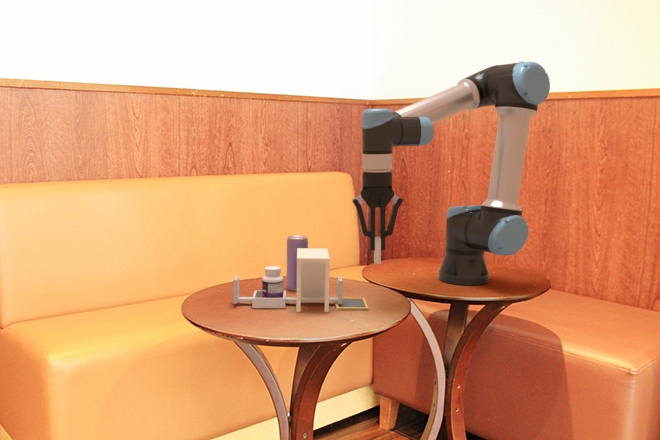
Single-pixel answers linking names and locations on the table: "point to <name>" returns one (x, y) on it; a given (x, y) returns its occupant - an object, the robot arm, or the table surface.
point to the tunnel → (312, 274)
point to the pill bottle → (272, 283)
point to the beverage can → (294, 259)
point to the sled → (280, 302)
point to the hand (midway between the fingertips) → (377, 262)
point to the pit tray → (352, 304)
